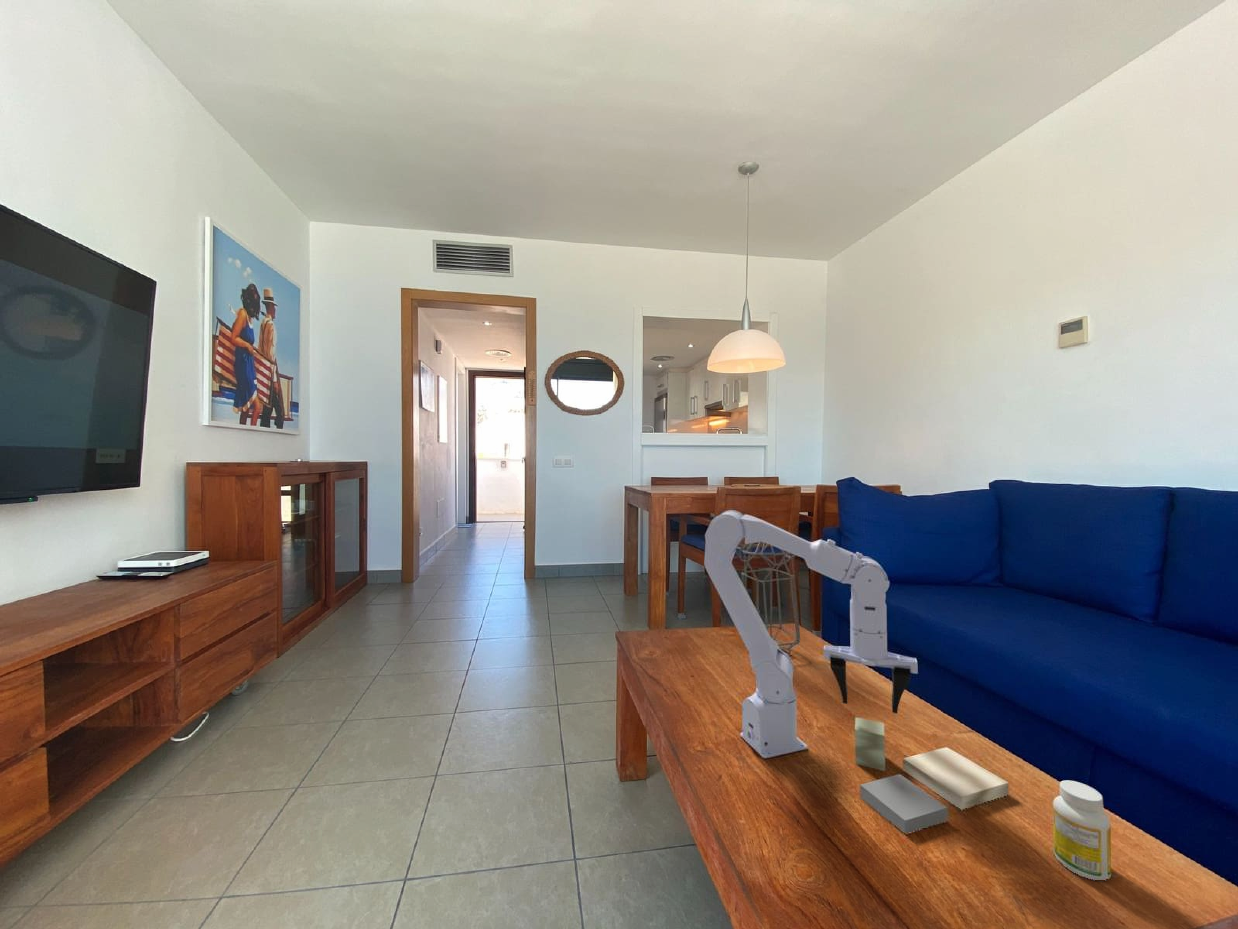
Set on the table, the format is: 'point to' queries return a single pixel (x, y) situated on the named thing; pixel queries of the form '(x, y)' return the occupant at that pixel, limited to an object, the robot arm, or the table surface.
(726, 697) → the table surface
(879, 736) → the sage green block
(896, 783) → the slate grey block
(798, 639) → the geometric lantern
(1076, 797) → the supplement bottle
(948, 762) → the pale ash block
